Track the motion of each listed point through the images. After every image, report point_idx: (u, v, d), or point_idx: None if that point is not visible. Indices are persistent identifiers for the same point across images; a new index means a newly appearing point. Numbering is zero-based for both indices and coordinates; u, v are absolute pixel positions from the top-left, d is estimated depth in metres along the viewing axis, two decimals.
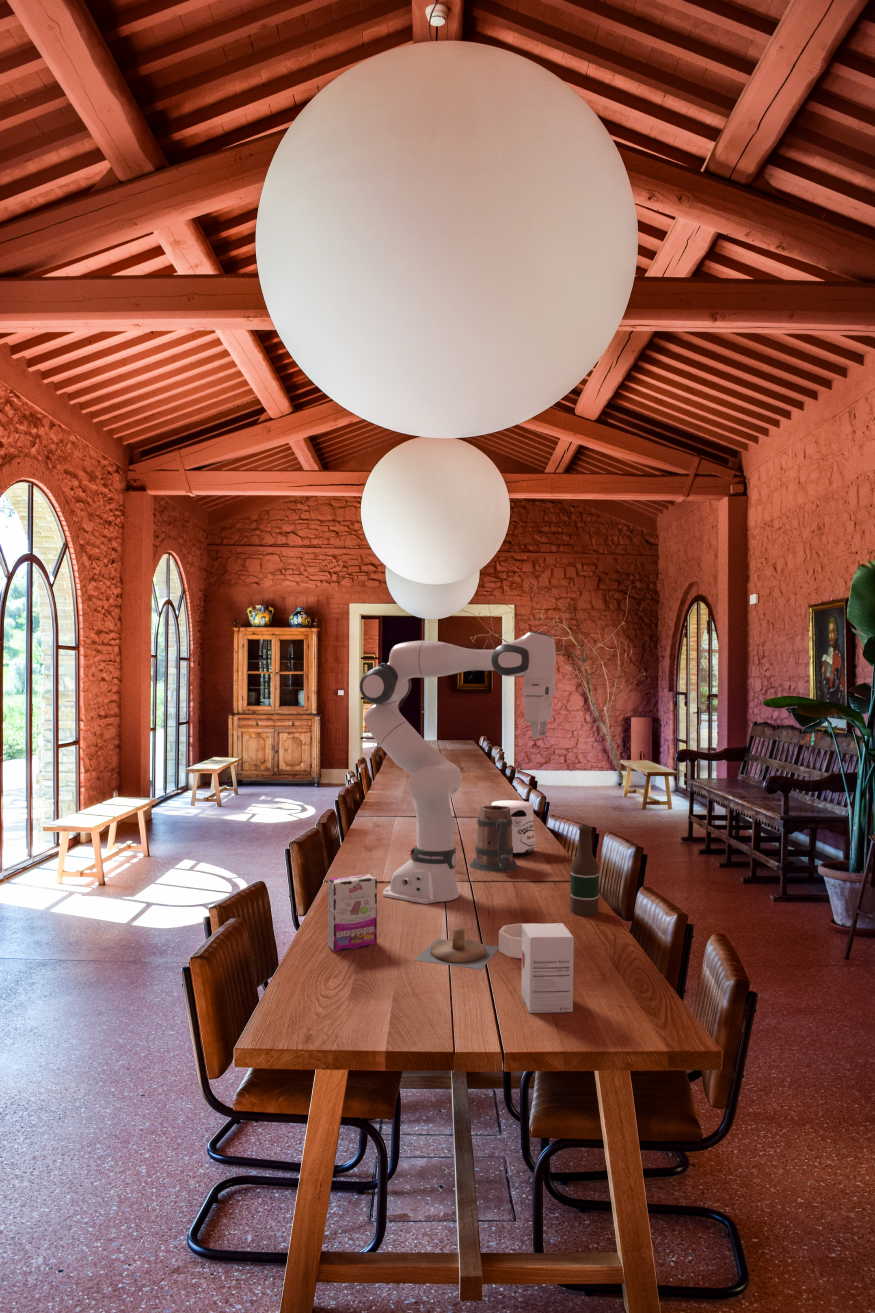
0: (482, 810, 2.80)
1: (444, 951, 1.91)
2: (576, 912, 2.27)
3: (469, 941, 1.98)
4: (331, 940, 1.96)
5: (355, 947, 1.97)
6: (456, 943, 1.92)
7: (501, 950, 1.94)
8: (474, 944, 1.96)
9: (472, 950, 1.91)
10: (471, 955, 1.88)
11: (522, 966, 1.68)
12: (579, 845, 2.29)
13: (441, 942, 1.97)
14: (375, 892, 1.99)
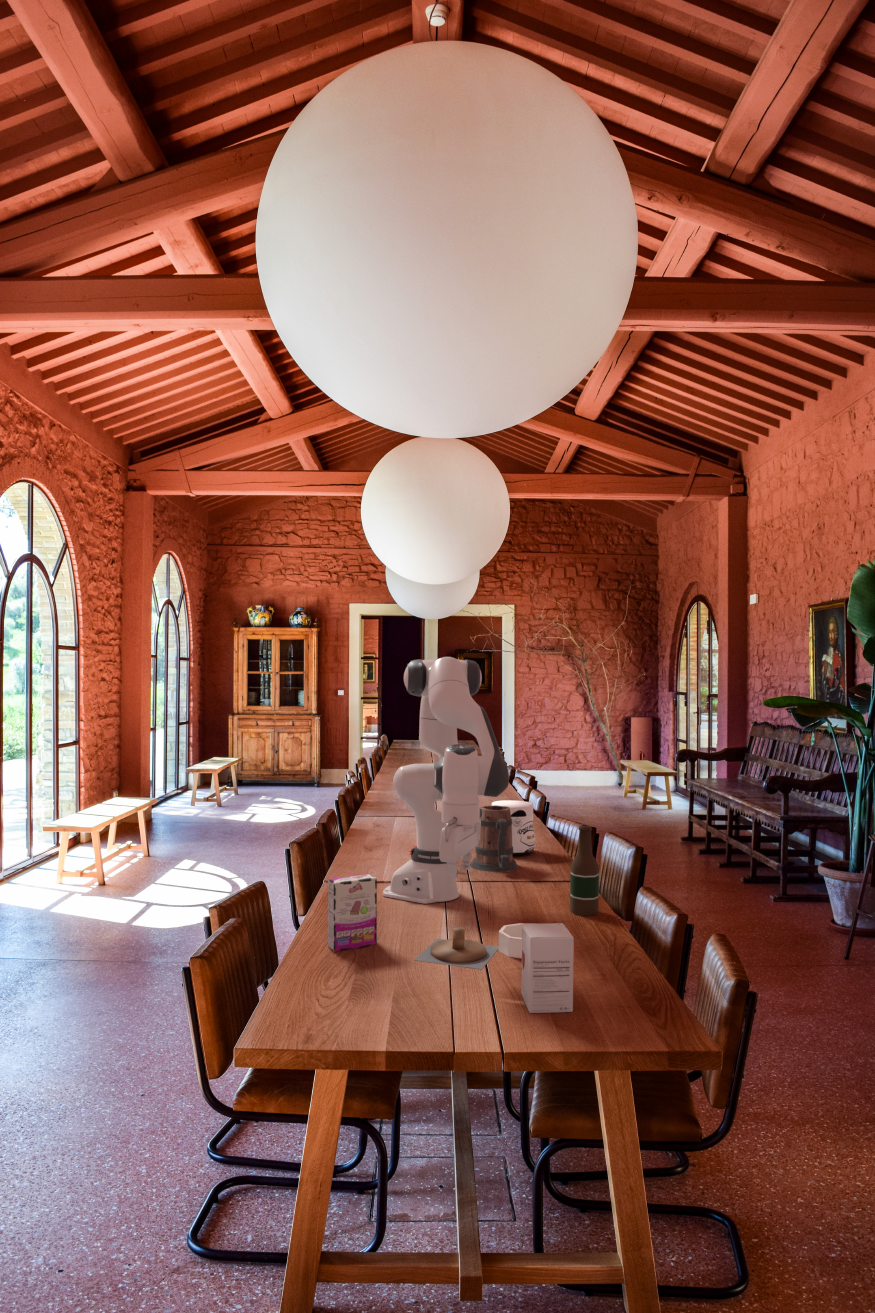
0: None
1: (444, 951, 1.91)
2: (576, 912, 2.27)
3: (469, 941, 1.98)
4: (331, 940, 1.96)
5: (355, 947, 1.97)
6: (456, 943, 1.92)
7: (501, 950, 1.94)
8: (474, 944, 1.96)
9: (472, 950, 1.91)
10: (471, 955, 1.88)
11: (522, 966, 1.68)
12: (579, 845, 2.29)
13: (441, 942, 1.97)
14: (375, 892, 1.99)
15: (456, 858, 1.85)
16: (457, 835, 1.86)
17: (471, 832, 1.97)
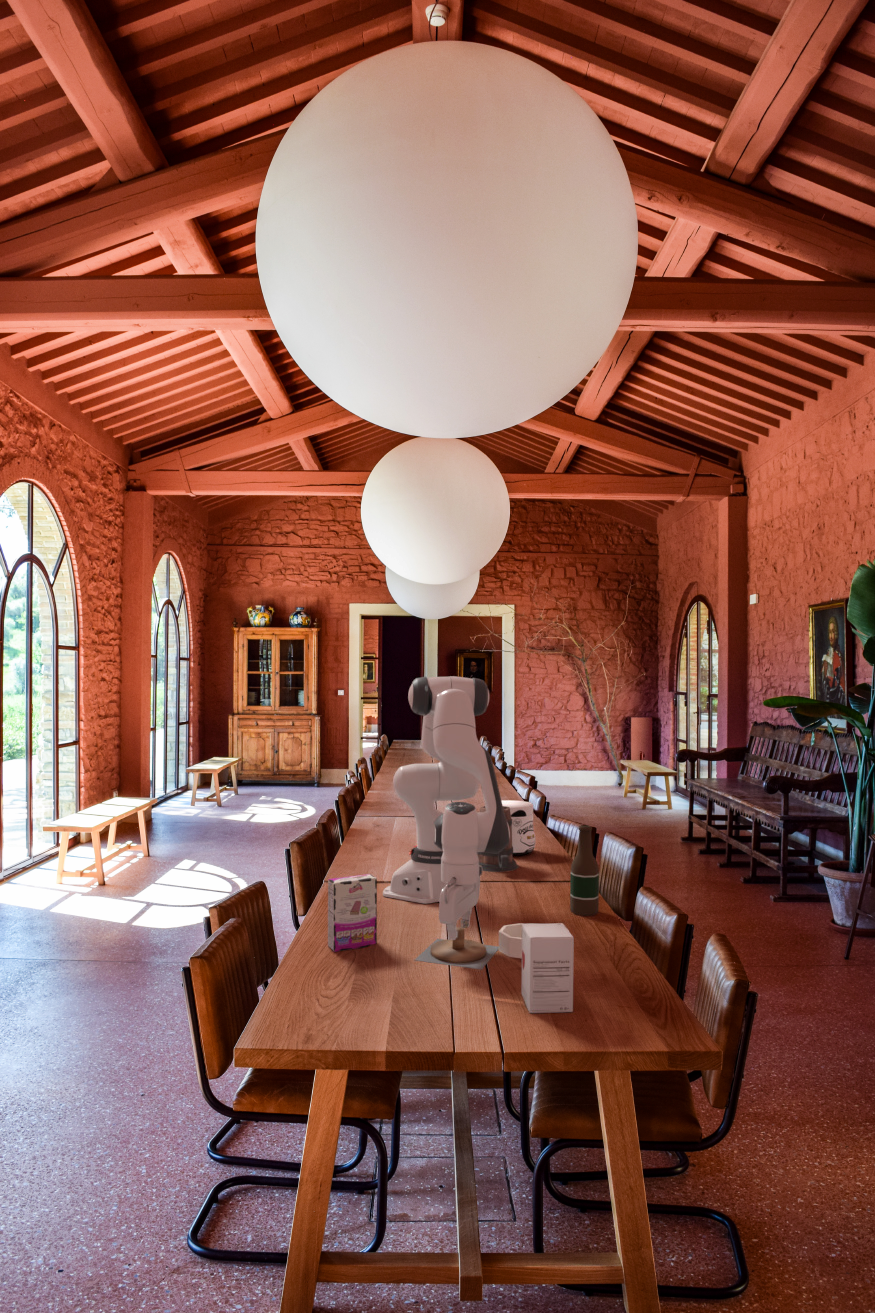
0: (482, 810, 2.80)
1: (444, 951, 1.91)
2: (576, 912, 2.27)
3: (469, 941, 1.98)
4: (331, 940, 1.96)
5: (355, 947, 1.97)
6: (456, 943, 1.92)
7: (501, 950, 1.94)
8: (474, 943, 1.96)
9: (472, 950, 1.91)
10: (471, 955, 1.88)
11: (522, 966, 1.68)
12: (579, 845, 2.29)
13: (441, 942, 1.97)
14: (375, 892, 1.99)
15: (455, 920, 1.84)
16: (457, 896, 1.85)
17: (470, 890, 1.96)
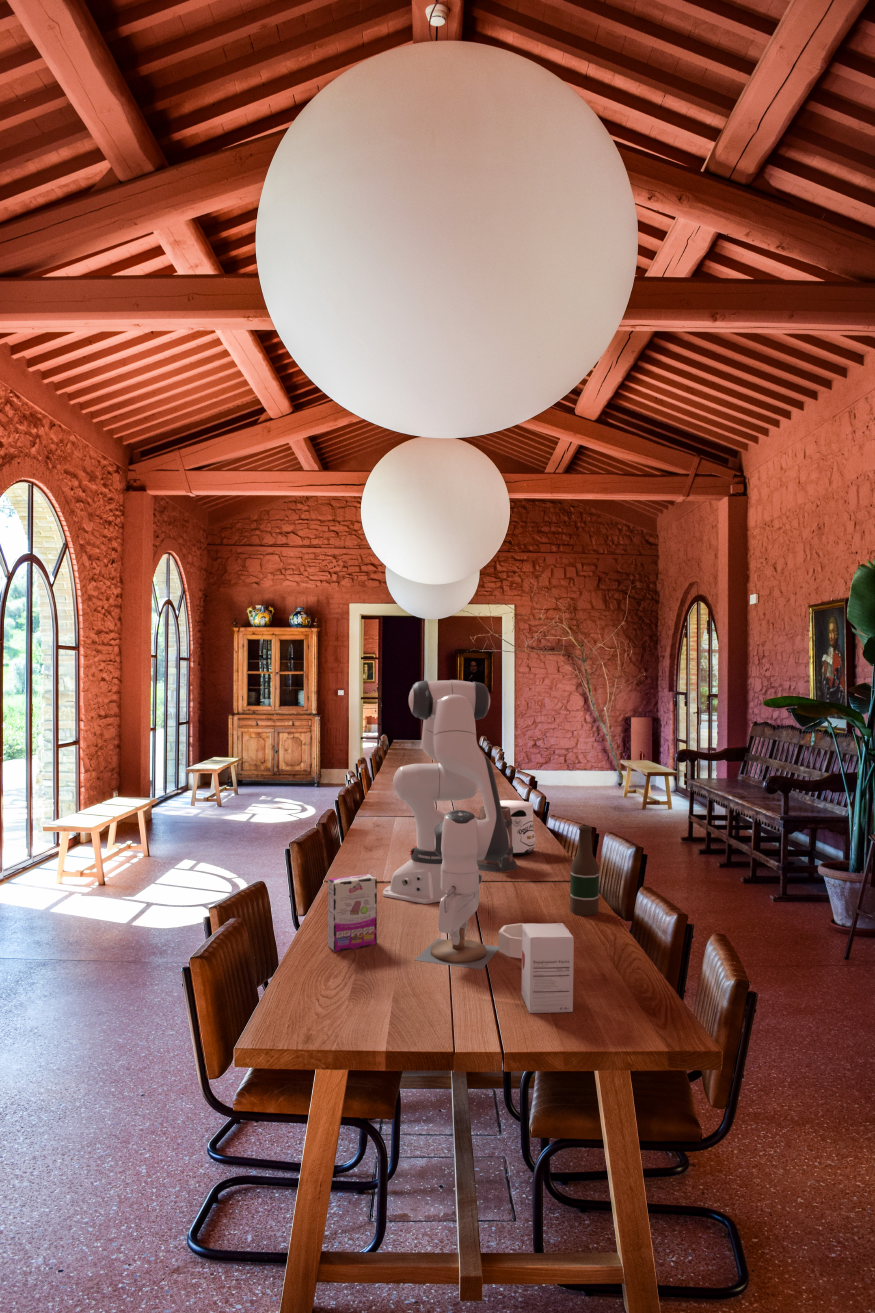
0: (482, 810, 2.80)
1: (444, 951, 1.91)
2: (576, 912, 2.27)
3: (469, 941, 1.98)
4: (331, 940, 1.96)
5: (355, 947, 1.97)
6: None
7: (501, 950, 1.94)
8: (474, 944, 1.96)
9: (472, 950, 1.91)
10: (471, 955, 1.88)
11: (522, 966, 1.68)
12: (579, 845, 2.29)
13: (441, 942, 1.97)
14: (375, 892, 1.99)
15: (455, 929, 1.85)
16: (456, 905, 1.85)
17: (470, 898, 1.97)
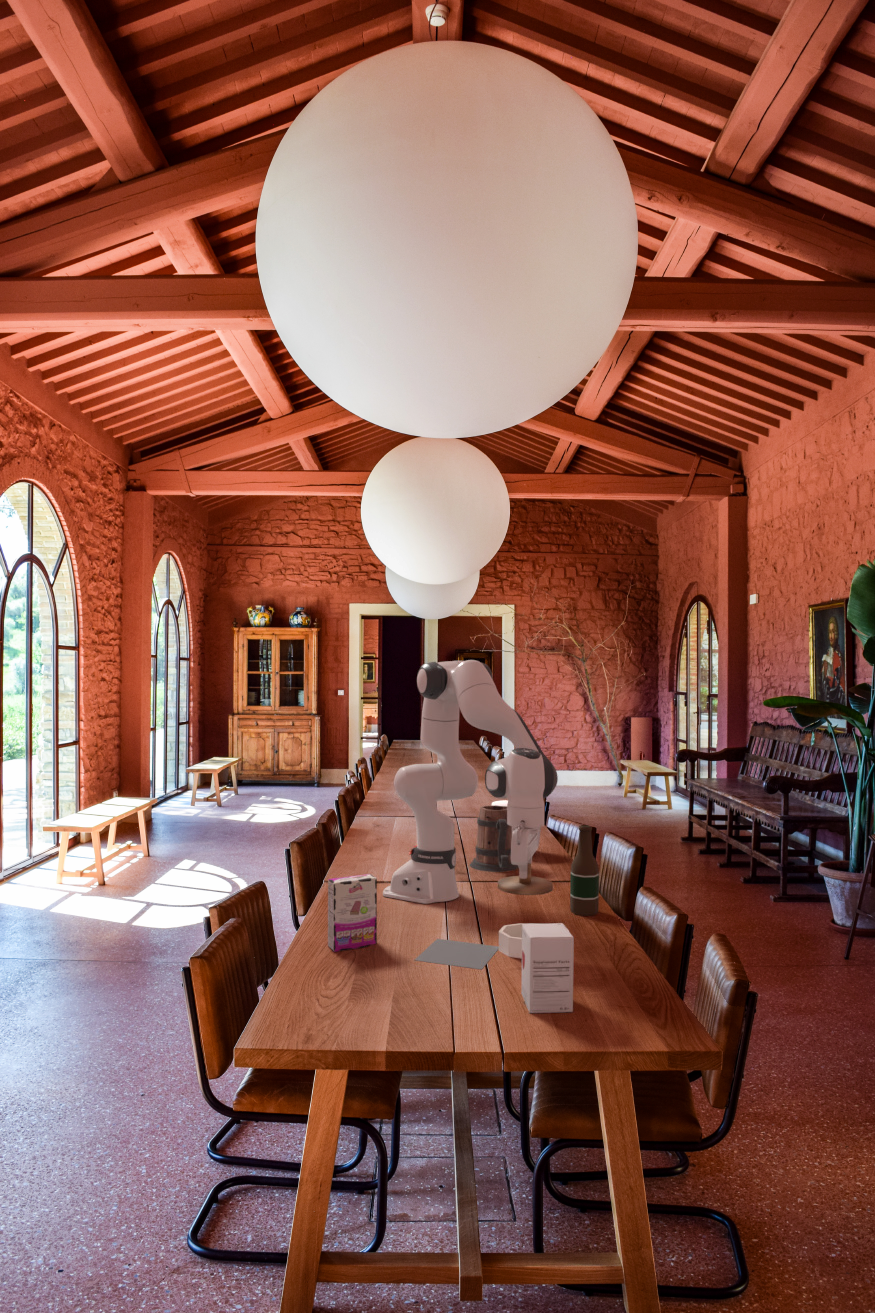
0: (482, 810, 2.80)
1: (512, 885, 1.93)
2: (576, 912, 2.27)
3: (532, 877, 2.01)
4: (331, 940, 1.96)
5: (355, 947, 1.97)
6: None
7: (501, 950, 1.94)
8: (538, 879, 1.99)
9: (539, 884, 1.95)
10: (540, 888, 1.91)
11: (522, 966, 1.68)
12: (579, 845, 2.29)
13: (506, 878, 2.00)
14: (375, 892, 1.99)
15: (527, 861, 1.88)
16: (528, 838, 1.89)
17: (534, 834, 2.00)
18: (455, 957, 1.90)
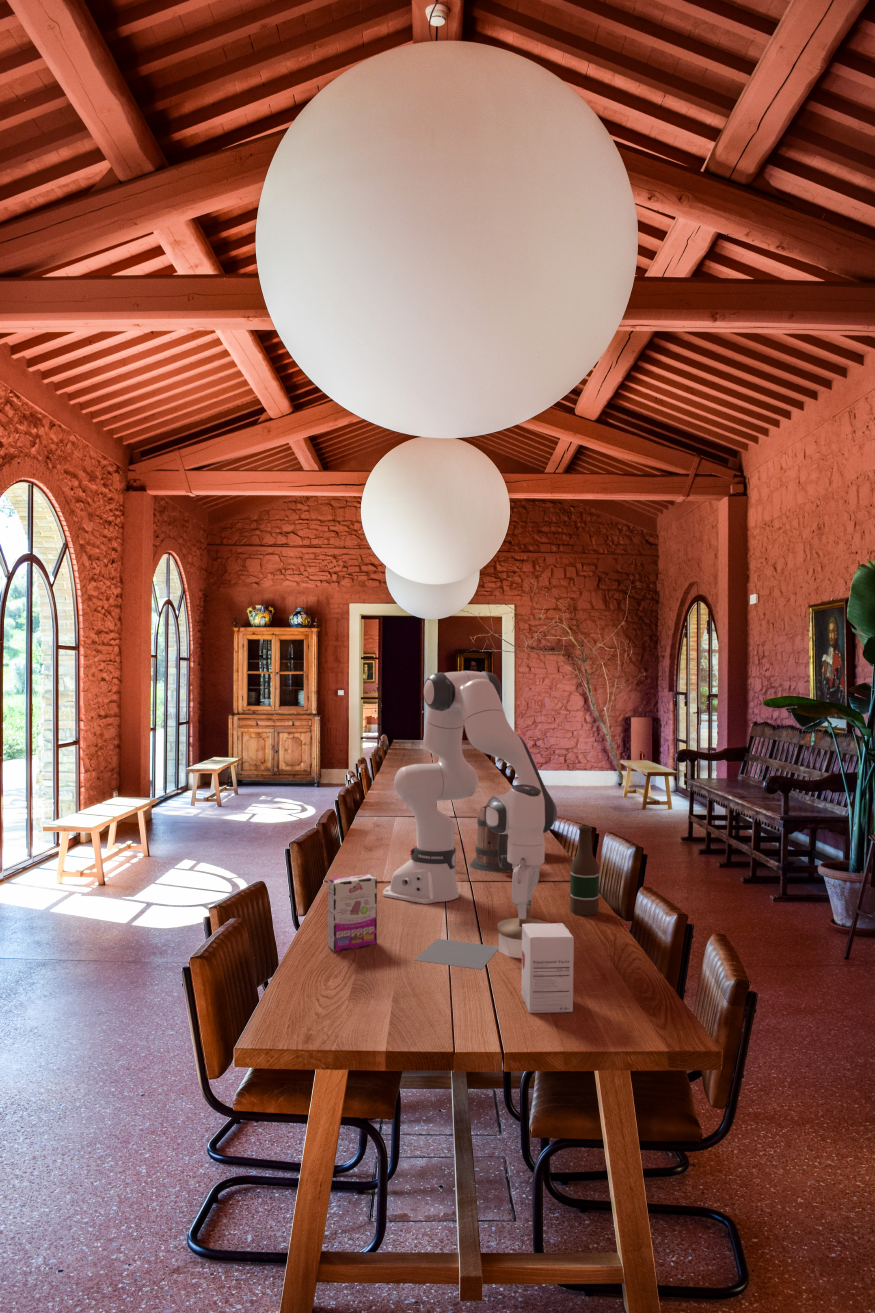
0: (482, 810, 2.80)
1: (513, 929, 1.93)
2: (576, 912, 2.27)
3: (532, 919, 2.01)
4: (331, 940, 1.96)
5: (355, 947, 1.97)
6: (523, 921, 1.95)
7: (501, 950, 1.94)
8: (538, 922, 1.99)
9: None
10: None
11: (522, 966, 1.68)
12: (579, 845, 2.29)
13: (505, 921, 1.99)
14: (375, 892, 1.99)
15: (528, 899, 1.88)
16: (528, 876, 1.88)
17: (534, 871, 2.00)
18: (455, 957, 1.90)
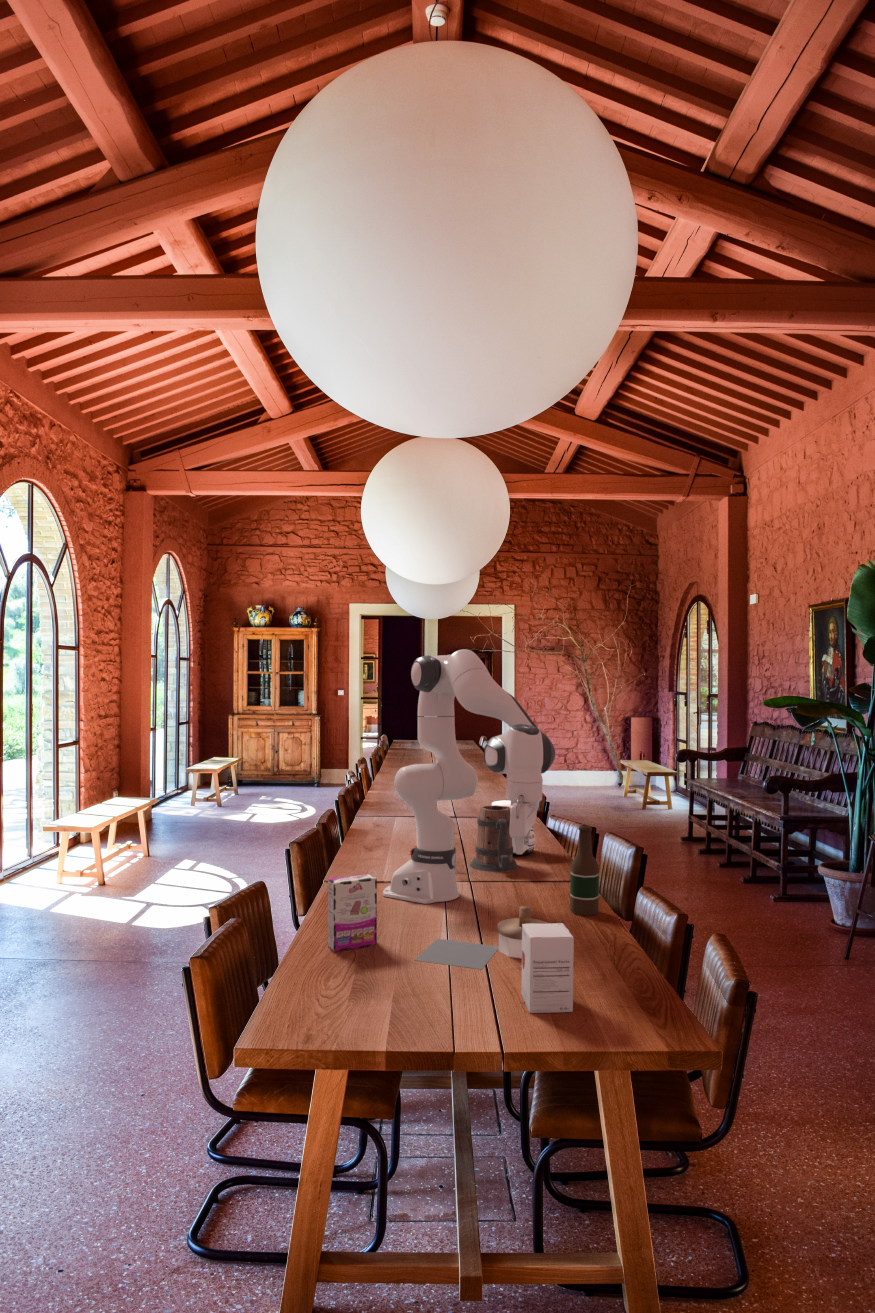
0: (482, 810, 2.80)
1: (513, 929, 1.93)
2: (576, 912, 2.27)
3: (532, 919, 2.01)
4: (331, 940, 1.96)
5: (355, 947, 1.97)
6: (523, 921, 1.95)
7: (501, 950, 1.94)
8: (538, 922, 1.99)
9: None
10: None
11: (522, 966, 1.68)
12: (579, 845, 2.29)
13: (505, 921, 1.99)
14: (375, 892, 1.99)
15: (525, 834, 1.92)
16: (526, 812, 1.92)
17: (532, 809, 2.04)
18: (455, 957, 1.90)
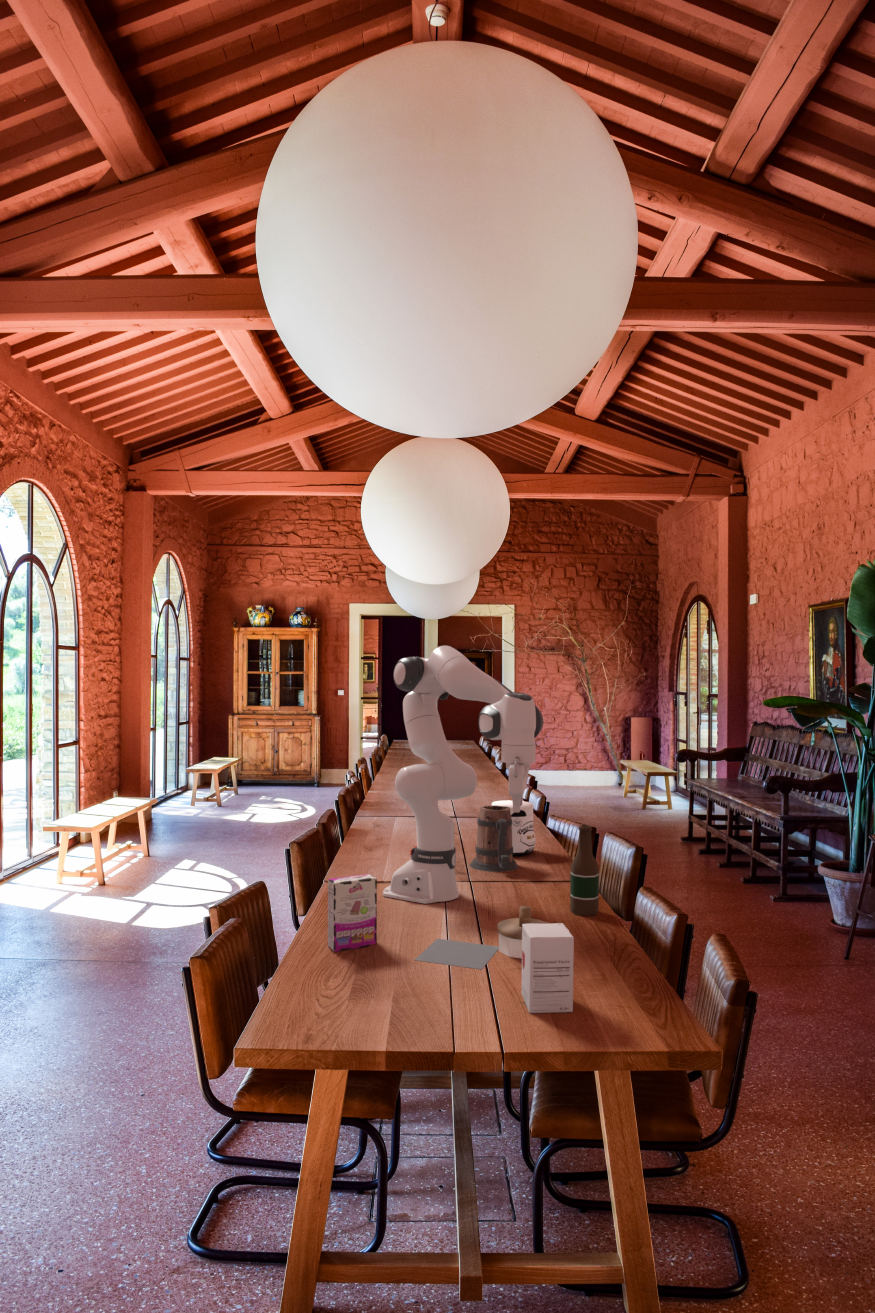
0: (482, 810, 2.80)
1: (513, 929, 1.93)
2: (576, 912, 2.27)
3: (532, 919, 2.01)
4: (331, 940, 1.96)
5: (355, 947, 1.97)
6: (523, 921, 1.95)
7: (501, 950, 1.94)
8: (538, 922, 1.99)
9: None
10: None
11: (522, 966, 1.68)
12: (579, 845, 2.29)
13: (505, 921, 1.99)
14: (375, 892, 1.99)
15: (523, 792, 2.05)
16: (523, 771, 2.06)
17: (524, 772, 2.17)
18: (455, 957, 1.90)
